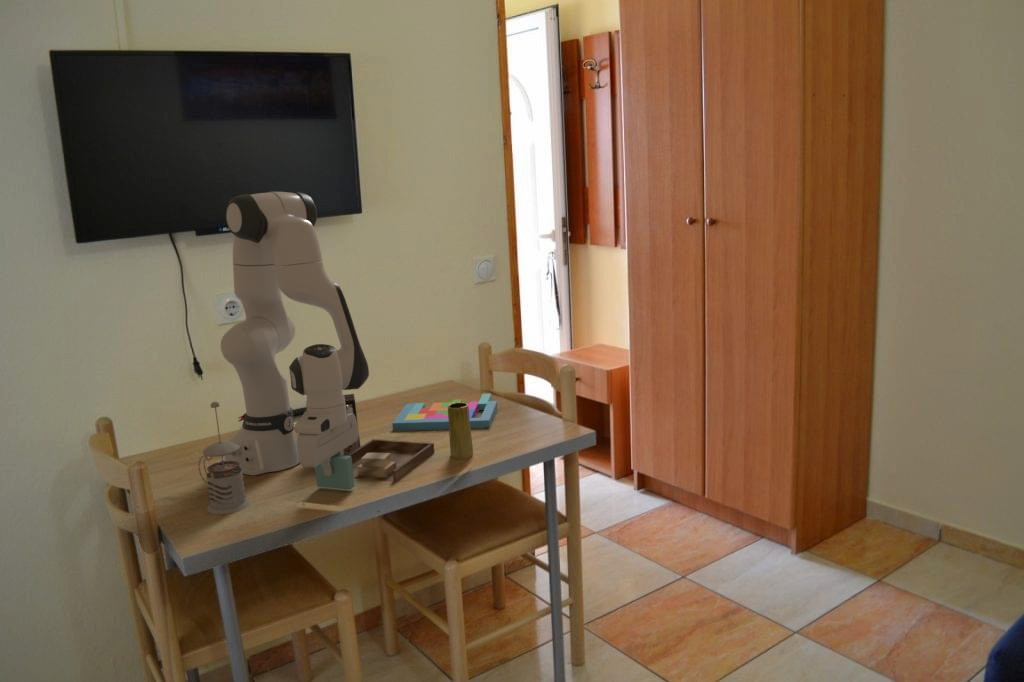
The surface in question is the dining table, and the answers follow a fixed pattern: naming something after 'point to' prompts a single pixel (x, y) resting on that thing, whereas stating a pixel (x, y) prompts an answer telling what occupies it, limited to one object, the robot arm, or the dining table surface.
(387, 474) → the offcut low
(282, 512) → the dining table surface
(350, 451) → the coffee box
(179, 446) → the dining table surface
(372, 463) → the offcut top
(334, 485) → the teal rectangular block
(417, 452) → the brown wooden tray
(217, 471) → the french press
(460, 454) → the vase
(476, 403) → the tetris game
